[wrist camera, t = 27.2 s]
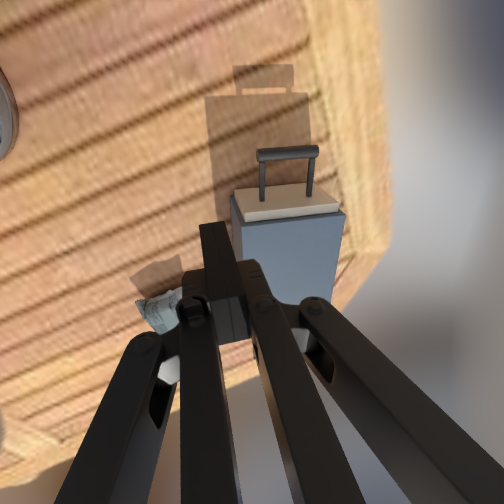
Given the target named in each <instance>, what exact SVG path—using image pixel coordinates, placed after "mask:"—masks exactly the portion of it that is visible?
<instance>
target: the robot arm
mask: <svg viewBox="0 0 504 504" xmlns="http://www.w3.org/2000/svg"><path fill="white" fill-rule="evenodd" d="M18 131H19V116H18V109H17V105H16V101H15V98H14V96H13V93H12V91H11V88H10V86H9V84H8V82H7V80H6V78H5V77H4V75H3V73H2V72H1V70H0V162H1V161H2V160H4V159H5V158H6V157H7V156H8V155H9V153H10V152H11V150H12V149H13V147H14V145H15V143H16V140H17V136H18ZM199 230H200V237H201V245H202V253H203V260H204V268H202V269H197V270H191V271H186V272H185V274H184V275H183V277H182V299H180V300H179V301H178V303H177V304H176V307H175V310H176V314H177V317H178V320H179V323H178V324H177V325H176V326H175V327H174V328H173V329H171V330H169V331H167V332H165V333H163V334H161V335H160V334H158V333H157V332H152V331H148V332H143V333H141V334H139V335H137V336H135V337H134V338H133V339H132V340H131V341H130V342H129V344H128V345H127V347H126V349H125V351H124V353H123V356H122V358H121V360H120V362H119V364H118V366H117V369H116V371H115V373H114V375H113V377H112V379H111V381H110V384H109V386H108V388H107V390H106V392H105V394H104V396H103V399H102V401H101V403H100V405H99V407H98V409H97V412H96V414H95V416H94V418H93V420H92V422H91V424H90V427H89V429H88V431H87V433H86V435H85V437H84V439H83V442H82V444H81V446H80V448H79V450H78V452H77V455H76V457H75V459H74V461H73V463H72V465H71V467H70V470H69V472H68V474H67V476H66V478H65V480H64V482H63V485H62V487H61V489H60V491H59V493H58V495H57V498H56V500H55V502H54V504H147V501H148V497H149V493H150V489H151V485H152V481H153V477H154V473H155V469H156V465H157V461H158V457H159V453H160V450H161V446H162V442H163V438H164V434H165V430H166V426H167V422H168V418H169V414H170V410H171V406H172V402H173V398H174V394H175V390H176V386H177V382H178V381H180V443H181V444H180V449H181V450H180V453H181V454H180V455H181V456H180V457H181V504H243V502H242V496H241V489H240V482H239V476H238V470H237V462H236V455H235V449H234V443H233V435H232V429H231V422H230V415H229V409H228V402H227V395H226V389H225V382H224V375H223V369H222V362H221V356H220V351H219V345H223V344H228V343H232V342H236V341H241V340H245V339H250V338H252V343H253V353H254V359H256V362H257V366H258V369H259V373H260V377H261V381H262V385H263V388H264V392H265V396H266V399H267V404H268V407H269V411H270V415H271V419H272V422H273V426H274V430H275V434H276V438H277V442H278V445H279V449H280V453H281V457H282V461H283V464H284V468H285V471H286V476H287V480H288V483H289V487H290V491H291V495H292V499H293V502H294V504H366V502H365V500H364V498H363V496H362V493H361V491H360V489H359V486H358V484H357V482H356V479H355V477H354V475H353V473H352V470H351V468H350V466H349V463H348V461H347V458H346V456H345V454H344V451H343V449H342V447H341V444H340V443H339V440H338V437H337V435H336V433H335V430H334V428H333V426H332V423H331V421H330V419H329V416H328V414H327V412H326V410H325V407H324V405H323V403H322V400H321V398H320V396H319V393H318V391H317V389H316V386H315V384H314V382H313V379H312V377H311V375H310V372H309V370H308V368H307V365H306V363H307V364H308V366H309V367H310V368H311V370H312V371H313V372H314V374H315V375H316V376H317V378H318V379H319V380H320V382H321V383H322V384H323V386H324V387H325V388H326V390H327V391H328V392H329V394H330V395H331V396H332V398H333V399H334V400H335V402H336V403H337V404H338V406H339V407H340V408H341V410H342V411H343V412H344V414H345V415H346V416H347V418H348V419H349V420H350V422H351V423H352V424H353V426H354V427H355V428H356V430H357V431H358V432H359V434H360V435H361V436H362V438H363V439H364V440H365V442H366V443H367V445H368V446H369V447H370V448H371V450H372V451H373V453H374V454H375V455H376V456H377V458H378V459H379V460H380V462H381V463H382V464H383V466H384V467H385V469H386V470H387V471H388V472H389V474H390V475H391V477H392V478H393V479H394V480H395V482H396V483H397V485H398V486H399V487H400V488H401V490H402V491H403V493H404V494H405V495H406V497H407V498H408V499H409V500H410V502H411V503H412V504H504V468H503V467H502V466H501V465H500V464H499V463H497V461H495V460H494V459H493V458H492V457H491V456H490V455H489V454H488V453H487V452H486V451H485V450H484V449H483V448H482V447H481V446H480V445H479V444H478V443H477V442H475V441H474V440H473V439H472V438H471V437H470V436H469V435H468V434H467V433H466V432H465V431H464V430H463V429H462V428H461V427H460V426H459V425H458V424H457V423H455V422H454V421H453V420H452V419H451V418H450V417H449V416H448V415H447V414H446V413H445V412H444V411H443V410H442V409H441V408H440V407H439V406H438V405H437V404H435V403H434V402H433V401H432V400H431V399H430V398H429V397H428V396H427V395H426V394H425V393H424V392H423V391H422V390H420V388H419V387H418V386H416V384H414V383H413V382H412V381H411V380H410V379H409V378H408V377H407V376H406V375H405V374H404V373H403V372H402V371H401V370H400V369H399V368H398V367H397V366H395V365H394V364H393V363H392V362H391V361H390V360H389V359H388V358H387V357H386V356H385V355H384V354H383V353H382V352H381V351H380V350H379V349H377V347H376V346H374V345H373V344H372V343H371V342H370V341H369V340H368V339H367V338H366V337H365V336H364V335H363V334H362V333H361V332H360V331H359V330H357V328H356V327H354V326H353V325H352V324H351V323H350V322H349V321H348V320H347V319H346V318H345V317H344V316H343V315H342V314H341V313H340V312H339V311H338V310H337V309H336V308H335V307H333V306H332V305H331V304H330V303H329V302H328V301H327V300H325V299H324V298H321V297H316V296H311V297H307V298H305V299H303V300H302V301H301V302H300V304H299V305H292V304H285V303H282V302H280V301H278V300H277V298H275V297H274V296H273V294H272V292H271V289H270V287H269V285H268V282H267V280H266V278H265V276H264V273H263V271H262V268H261V266H260V263H258V262H257V261H256V260H255V259H248V260H242V261H237V262H236V258H235V255H234V252H233V248H232V245H231V242H230V238H229V235H228V232H227V228H226V225H225V222H224V221H219V222H213V223H207V224H201V225H199ZM304 360H305V361H304ZM305 362H306V363H305Z"/></svg>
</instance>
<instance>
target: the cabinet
mask: <svg viewBox="0 0 504 504" xmlns="http://www.w3.org/2000/svg"><path fill="white" fill-rule="evenodd" d="M230 210H231V224H232V238H233V252H234V255H235V258H236V262H237V261H242V260H248V259H255V260H256V261H257V262H258V263H260V266H261V268H262V271H263V273H264V276H265V278H266V280H267V282H268V285H269V287H270V289H271V292H272V294H273V296H274V297H275V298H277V300H278V301H280V302H282V303H285V304H292V305H299V304H300V302H301V301H302V300H303V299H305V298H307V297H311V296H316V297H321V298H324V299H325V300H327V301H328V302H329V303H331V297H332V291H333V286H334V280H335V274H336V269H337V263H338V257H339V251H340V246H341V240H342V234H343V229H344V223H345V217H346V215H345V214H344V213H343V212H342V211H341V210H340V209H339V208H338V212H332V213H324V214H323V215H315V216H306V217H297V218H289V219H280V220H271V221H262V222H254V223H246V222H245V221H244V219H243V216H242V214H241V211H240V209H239V207H238V204H237V202H236V199H235V196H230Z"/></svg>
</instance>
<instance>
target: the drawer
mask: <svg viewBox="0 0 504 504" xmlns="http://www.w3.org/2000/svg"><path fill="white" fill-rule="evenodd" d="M318 155H319V147H318V145H305V146H291V147H277V148H263V149H257V151H256V158H257V161H258V162H259V187H257V188H246V189H236V190H234V194H235V199H236V202H237V204H238V207H239V209H240V211H241V214H242V216H243V219H244V221H245V222H246V223H254V222H259V221H262V220H271V219H280V218H289V217H292V218H297V217H306V216H315V215H323V214H324V213H332V212H338V207H339V202H337V201H336V200H335V199H334V198H332V197H331V196H330V195H329V194H328V193H326V192H325V191H324V190H323V189H322V188H320V187H319V186H318V185H317V184H315V183H314V182H313V177H314V167H315V158H316V157H318ZM305 158H309V162H308V173H307V183H299V184H289V185H278V186H268V187H265V162H267V161H279V160H292V159H305Z"/></svg>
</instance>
